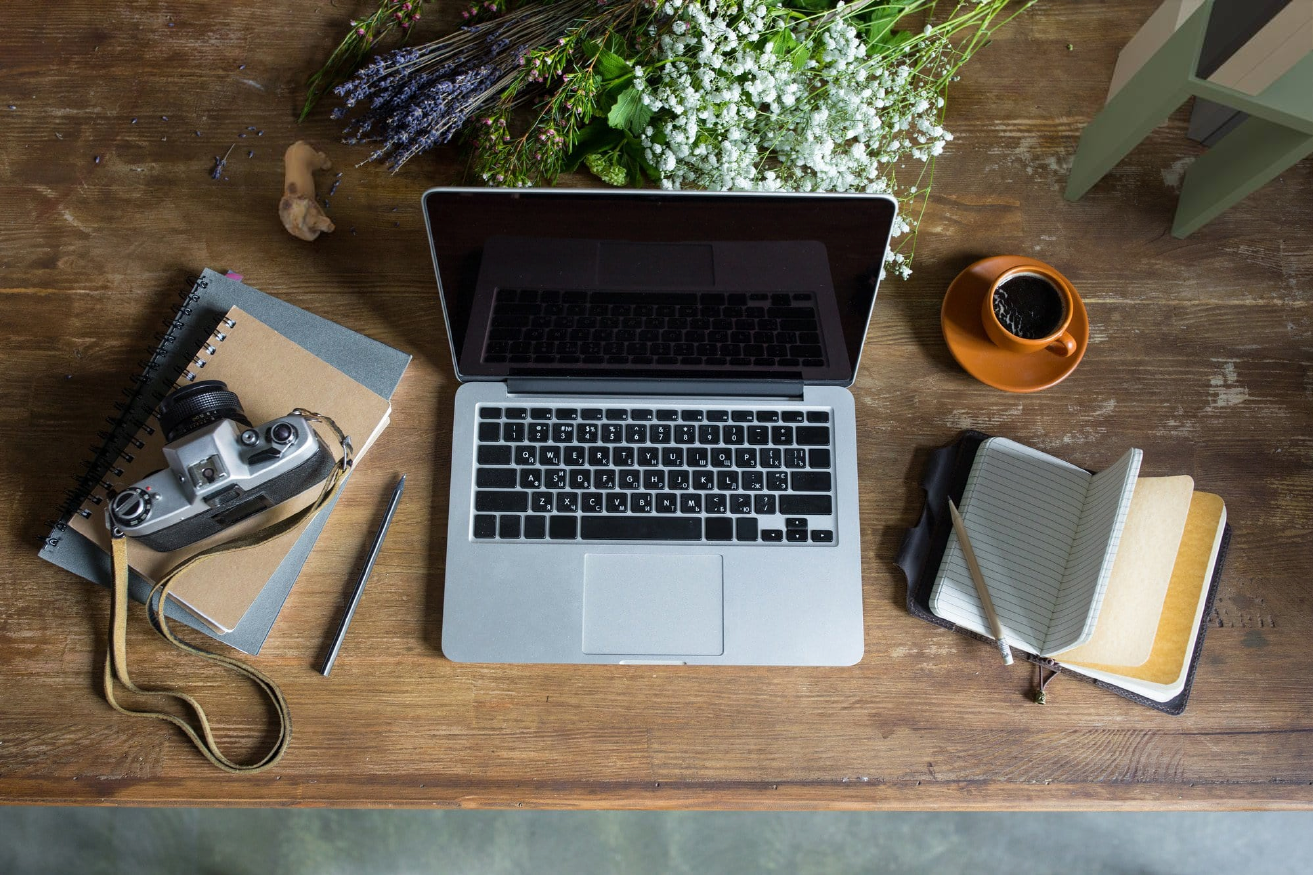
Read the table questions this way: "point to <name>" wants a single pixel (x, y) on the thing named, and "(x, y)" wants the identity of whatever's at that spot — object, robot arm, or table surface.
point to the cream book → (1150, 40)
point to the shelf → (1263, 146)
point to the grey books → (1213, 121)
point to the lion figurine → (303, 193)
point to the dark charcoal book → (1254, 42)
